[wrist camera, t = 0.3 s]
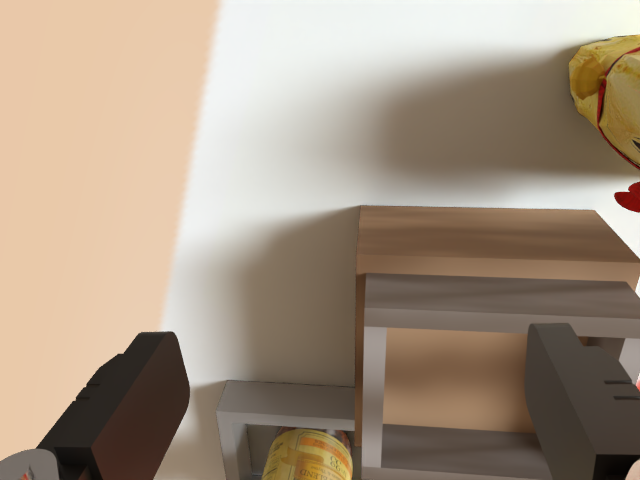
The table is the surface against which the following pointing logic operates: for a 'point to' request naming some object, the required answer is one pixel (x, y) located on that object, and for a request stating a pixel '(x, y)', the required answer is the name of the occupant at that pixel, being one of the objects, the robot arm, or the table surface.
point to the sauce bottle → (309, 455)
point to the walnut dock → (475, 331)
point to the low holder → (276, 415)
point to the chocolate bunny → (611, 98)
